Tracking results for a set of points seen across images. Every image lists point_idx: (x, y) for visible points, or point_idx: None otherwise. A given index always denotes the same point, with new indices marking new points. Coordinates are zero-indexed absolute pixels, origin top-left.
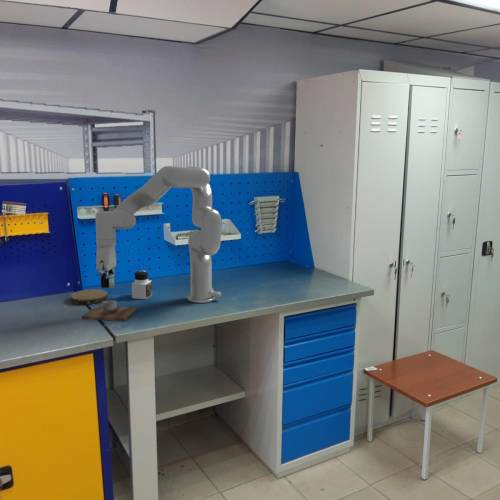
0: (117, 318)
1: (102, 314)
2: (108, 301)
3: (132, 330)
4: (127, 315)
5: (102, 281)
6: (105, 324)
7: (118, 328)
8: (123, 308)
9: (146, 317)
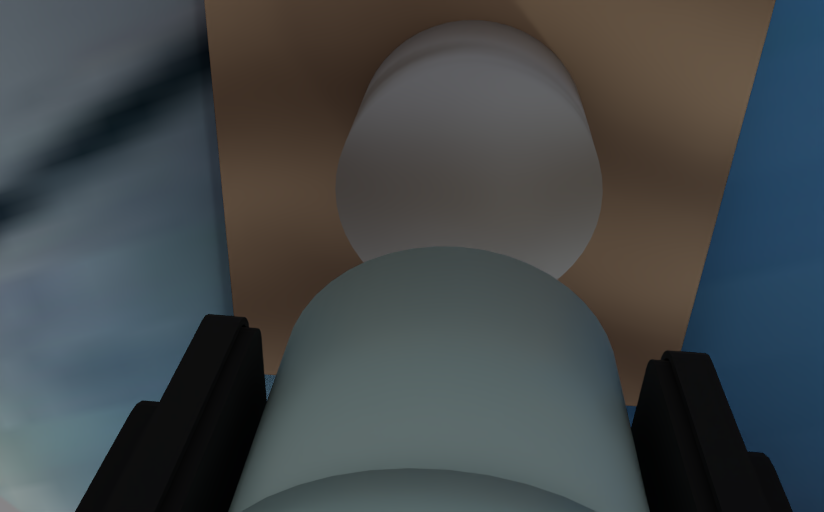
0: (234, 289)
1: (327, 61)
2: (520, 165)
3: (19, 460)
4: None
5: (82, 508)
6: (84, 175)
7: (19, 339)
8: (622, 271)
9: None
